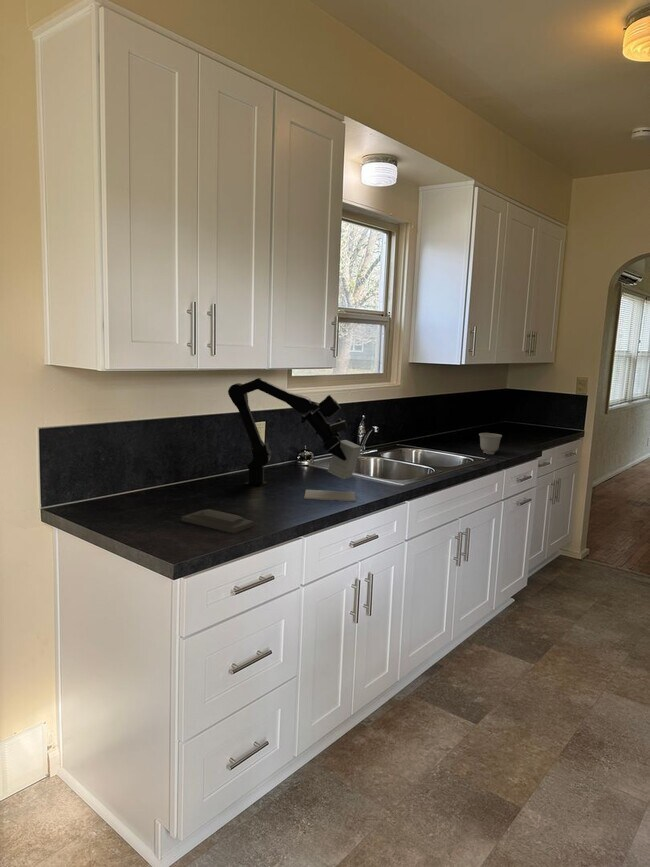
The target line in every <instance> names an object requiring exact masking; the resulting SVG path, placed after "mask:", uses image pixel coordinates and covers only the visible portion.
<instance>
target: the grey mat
mask: <svg viewBox="0 0 650 867" xmlns="http://www.w3.org/2000/svg"><path fill="white" fill-rule="evenodd" d="M304 492H305V493H304V497H303V498H304V500H314V501H315V500H318V501H319V500H321V501H334V500H338V502H354V501H355V502H356V492H355V491H340V490H339V491H338V490H320V489H319V490H318V489H305V491H304Z"/></svg>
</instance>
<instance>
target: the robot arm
mask: <svg viewBox="0 0 650 867" xmlns="http://www.w3.org/2000/svg"><path fill="white" fill-rule="evenodd" d="M256 390H259V391H261V392H263V393H265V394H267V395H268V396H269V395H270V396H271V397H273V398H276V399H277V400H280V401H282V402H284V403H285V404H287V405H289V406H290V407H291V408H292V409H294V410H295V411H297V412H298V413H300V414H302V415H301V420H300V424H304V423H306V422H307V424H308V425H309V426H310V427H311V429H312V430H313V431H314V433H315V435H316V436H318V437H319V439H320V440H321V443H322V444H323V447H322V448H323V449H324V450H325V451H326V452H327V453H329V454H331V455H332V456H333V455H335V456H336V457H338V458H340V459H342V460H344V461H345V460H346V457H345V455H344V453H343V451H342V449H341V448H340V443H341V434H340V433H339V432H342V431H347V430H348V425H347V422H346V420H345V419H344V420H342V419H341V418H337V419H336V420H335V422H334V423H332V424H331V423H330V422H328V421H327V420H326V419H325V418H329V419H330V418H331V417H332V416H334V415H335V414H336V413H338V412H339V411H340V410H341V409H342V407H341V406H340V404H339V403H338V402H337V400H336V399H335V398H333V397H332V395H331V394H329V395H327V396H326V397H325V398H324V399H323V400H322V401H320V402H317V401H316V402H315V401H313V400H311V399H310V398H309V397H308V396H304V395H300V394H297V393H296V394H295V393H293V392H290V391H287V390H286V389H283V388H281V387H279V386H277V385H274V384H272V383H271V382H268V381H267V380H265V379H263V378H261V377H258V378H255V379H253V380H251V381H248V382H245V383H240V382H238V383H234V384H232V385H230V386H229V388H228V390H227V394H228V396H229V398H230V400H231V402H232V403H233V404H234V406H235V407H236V408H237V410H238V412H239V416H240V419H241V420H242V424H243V426H244V428H245V431H246V433H247V436H248V439H249V442H250V445H251V454H252V459H251V460H250V461H249V462H248V463H247V464H246V466H247V469H248V481H246V482H245V483H244V485H247V486H253V487H262V486H264V485H266V484H268V482H267V481H264V480H265V466H266V465H267V464H268V463H269V461H270V460H271V457H272V450H271V449H270V445H269V443H268V442H264V441H263V440H262V438H261V435H260V432H259V430H258V427H257V424H256V422H255V419H254V416H253V413H252V411H251V409H250V405H249V396H248V393H250V392H254V391H256ZM312 411H313V412H312ZM303 414H304V415H303Z"/></svg>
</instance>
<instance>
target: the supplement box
mask: <svg viewBox="0 0 650 867" xmlns="http://www.w3.org/2000/svg"><path fill="white" fill-rule="evenodd" d="M340 441H341V443H340V448H341V449H342V451H343V453H344V455H345V457H346V460H345V461H344V460H342V459H340V458H338V457H336V456H335V455H333V454H332V456H331V460H330V463H329V466H328V469H327V473H330V474H331V475H334V476H336V477H338V478H340V479H341V480H345V479H350V478H352V477H353V473H354V471H355V467H356V465H357V462H358V460H359V456H360V454H361V450H362V446H361V445H358V444H356V443H354V442H352V441H350V440H348V439H344V440H343V439H342V440H341V439H340Z"/></svg>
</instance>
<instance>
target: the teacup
mask: <svg viewBox="0 0 650 867" xmlns="http://www.w3.org/2000/svg"><path fill="white" fill-rule="evenodd" d="M478 435H479V443H480V444H479V446H480V448H481V450H482V451H483V452H482V453H483V454H484V453H486V454H485V455H495V452H497V451H498V450H499V447H500V443H501V439H502V437H503V434H499V433H492V432H491V433H490V432H480V433H478Z"/></svg>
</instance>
